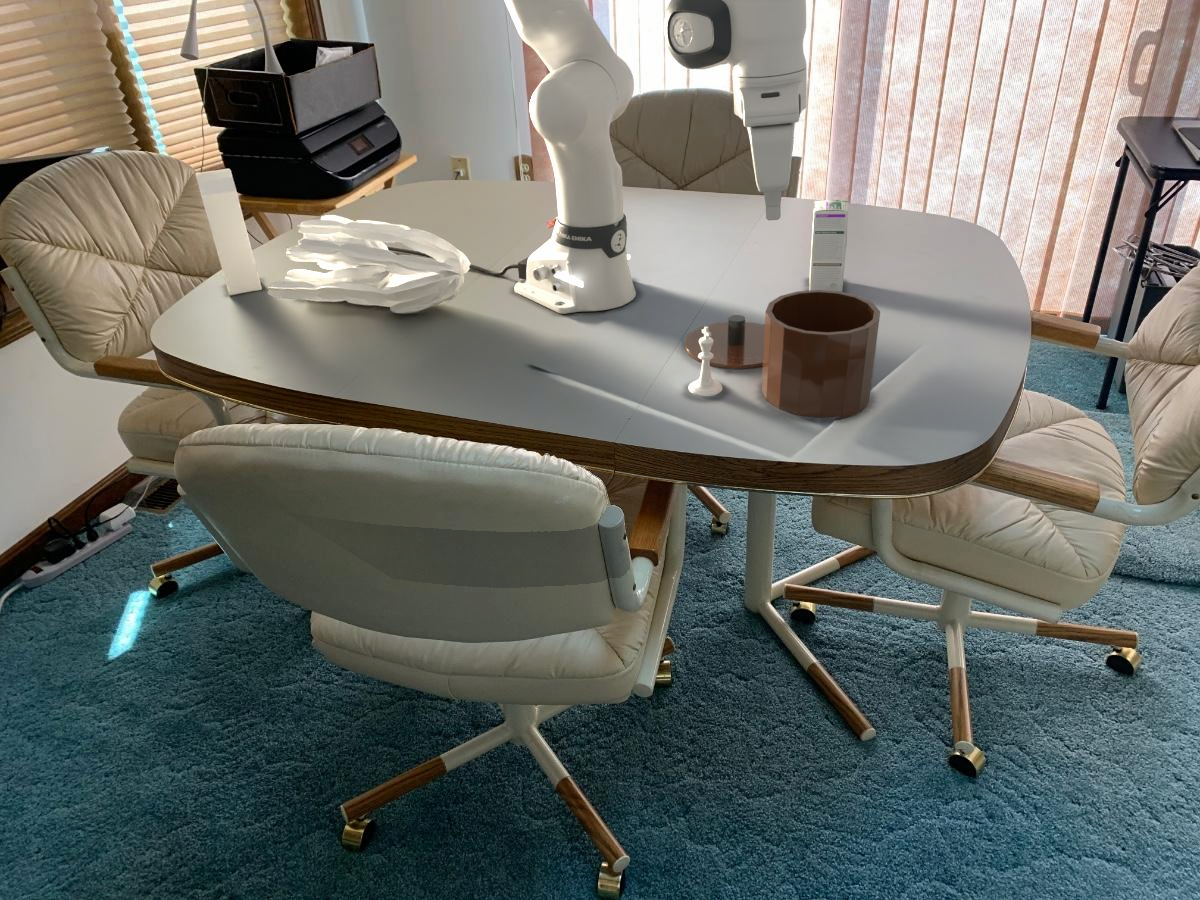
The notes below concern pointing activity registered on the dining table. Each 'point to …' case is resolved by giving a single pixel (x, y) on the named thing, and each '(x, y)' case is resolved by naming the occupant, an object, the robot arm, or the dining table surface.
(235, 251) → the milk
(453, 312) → the dining table surface
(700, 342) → the chess piece
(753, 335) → the lid
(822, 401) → the crock
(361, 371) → the dining table surface
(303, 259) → the white jagged lobed bundle
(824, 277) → the syrup box
